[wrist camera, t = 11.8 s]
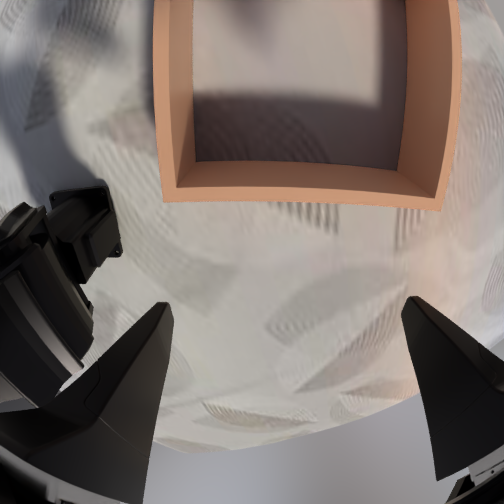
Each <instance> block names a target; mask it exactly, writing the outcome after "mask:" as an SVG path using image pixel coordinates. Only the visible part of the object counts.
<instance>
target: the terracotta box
mask: <svg viewBox="0 0 504 504" xmlns="http://www.w3.org/2000/svg"><path fill="white" fill-rule="evenodd" d="M405 6H406V20H407V85H406V101H405V113H404V123H403V131H402V139H401V147H400V154H399V160H398V166H397V171H394V170H386V169H378V168H369V167H360V166H350V165H338V164H325V163H310V162H288V161H202V162H196V154H195V136H194V112H193V67H192V39H193V0H154V20H153V86H154V108H155V124H156V137H157V149H158V159H159V169H160V178H161V186H162V194H163V202H199V201H280V202H315V203H338V204H357V205H372V206H386V207H399V208H411V209H421V210H431V211H441V208H442V205H443V201H444V197H445V193H446V189H447V184H448V180H449V176H450V171H451V166H452V161H453V155H454V149H455V143H456V137H457V129H458V121H459V112H460V100H461V82H462V47H461V30H460V19H459V10H458V3H457V0H405Z"/></svg>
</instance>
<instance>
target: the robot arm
mask: <svg viewBox="0 0 504 504" xmlns="http://www.w3.org/2000/svg"><path fill="white" fill-rule="evenodd" d="M101 190H102V191H104V194H102V192H101ZM54 197H55V199H54ZM49 199H50V203H51V207H52V211H50V212H49V213H48V214H47V215H46V213H47V211H46V209H45V206H44V205H43V206H40V207H38V208H32V207H30V206H29V205H28V204H27V203H25V202H23V203H20V204H19V205H17V206H16V207H15V208H13V209H12V210H11V211H10V212H8V213H7V214H6V215H5V216H4V217H3V218H2V219H1V220H0V403H1V402H5V401H10V400H15V399H19V398H25V399H26V400H27V401H28V402H29V403H31V404H32V405H33V406H34V407H35V409H28V410H21V411H12V412H3V413H0V504H120V502H124V503H128V504H143V496H144V490H145V483H146V476H147V470H148V464H149V456H150V451H151V446H152V440H153V435H154V430H155V425H156V420H157V415H158V410H159V405H160V400H161V395H162V391H163V386H164V382H165V377H166V373H167V369H168V364H169V359H170V351H171V342H172V334H173V326H174V318H173V315H172V311H171V307H170V304H169V303H168V302H157V303H156V304H155V305H154V306H153V307H152V308H151V309H150V310H149V311H148V312H146V313H145V314H144V315H143V316H142V317H141V318H140V319H139V320H138V321H137V322H136V323H135V324H134V325H133V326H132V327H131V328H130V329H129V330H128V331H127V332H126V333H124V334H123V335H122V336H121V337H120V338H119V339H118V340H117V341H116V342H115V343H114V344H113V345H112V346H111V347H110V348H109V349H108V350H107V351H106V352H105V353H104V354H103V355H102V356H101V357H100V358H99V359H98V361H96V362H95V363H94V364H93V365H92V366H91V367H90V368H89V369H88V370H87V371H85V372H84V373H83V374H82V375H81V376H80V377H79V378H78V379H77V380H75V381H74V382H73V383H72V384H71V385H70V386H68V387H67V388H66V389H65V390H63V391H62V392H61V393H60V394H59V395H57V396H56V397H55V395H56V394H57V392H58V391H59V389H60V388H61V387H62V385H63V384H64V383H65V382H66V381H67V380H68V379H69V378H70V377H71V376H72V375H73V374H75V373H77V372H78V371H80V370H81V369H83V368H84V364H83V363H82V362H81V360H82V359H83V357H84V356H85V355H86V353H87V352H88V350H89V349H90V347H91V345H92V342H93V340H94V337H93V336H92V332H93V323H94V322H93V319H92V314H93V308H94V307H93V305H92V303H91V302H90V301H88V299H87V297H86V295H85V294H84V292H83V290H82V288H81V287H80V285H79V284H86V283H87V281H88V280H89V278H90V277H91V275H92V274H93V272H94V271H95V269H96V268H97V267H101V265H102V264H103V262H104V261H105V259H106V258H107V257H115V258H118V257H120V256H121V255H122V253H123V249H122V245H121V242H120V238H121V237H120V233H119V229H118V225H117V220H116V216H115V212H114V211H113V207H112V203H111V198H110V193H109V189H108V188H107V187H106V186H95V187H87V188H79V189H71V190H64V191H57V192H53V193H52V194H50V196H49ZM116 250H117V251H118V252H119V253H118V252H116ZM401 318H402V322H403V327H404V331H405V336H406V340H407V345H408V349H409V353H410V357H411V360H412V363H413V367H414V370H415V374H416V377H417V381H418V385H419V389H420V393H421V396H422V401H423V405H424V409H425V414H426V419H427V423H428V428H429V434H430V437H431V438H430V440H431V445H432V452H433V458H434V466H435V474H436V480H437V481H439V480H441V479H444V478H446V477H448V476H450V475H452V474H454V473H456V472H458V471H460V470H462V469H464V468H466V467H468V468H469V472H470V473H469V474H468V475H466V476H464V477H462V478H460V479H459V480H457V482H456V484H455V486H454V488H453V490H452V492H451V494H450V496H449V498H448V500H447V502H446V503H445V504H504V361H503V360H501V359H500V358H498V357H497V356H496V355H494V354H493V353H492V352H490V351H489V350H488V349H487V348H485V347H484V346H483V345H482V344H480V343H478V341H477V340H475V339H474V338H473V337H472V336H470V335H469V334H468V333H467V332H465V331H464V330H463V329H461V328H460V327H459V326H458V325H456V324H455V323H454V322H452V321H451V320H450V319H448V318H447V317H446V316H444V315H443V314H442V313H440V312H439V311H438V310H436V309H435V308H434V307H432V306H431V305H430V304H428V303H427V302H426V301H424V300H423V299H421V298H420V297H419V296H410V297H408V298H407V300H406V303H405V305H404V307H403V310H402V312H401ZM54 397H55V398H54Z"/></svg>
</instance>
